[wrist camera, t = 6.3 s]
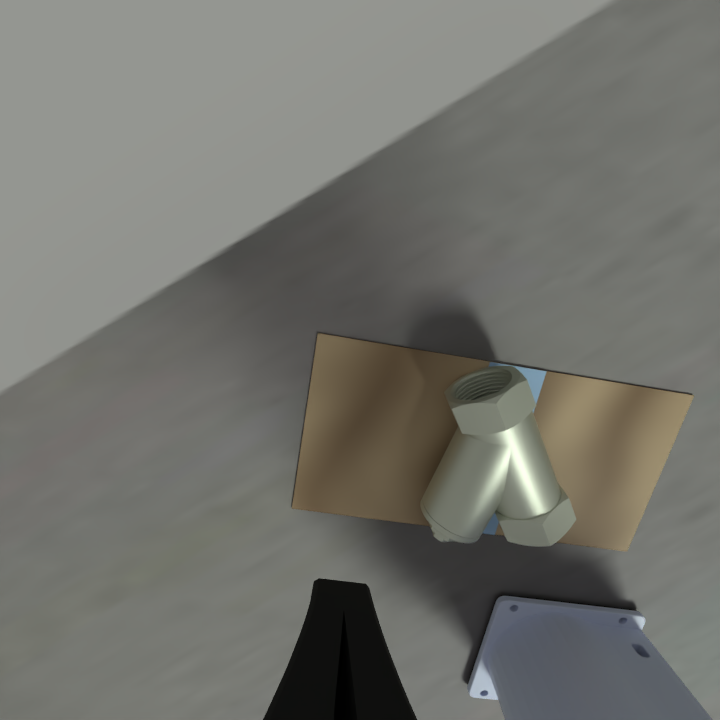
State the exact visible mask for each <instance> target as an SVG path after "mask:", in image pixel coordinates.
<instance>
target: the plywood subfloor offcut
mask: <svg viewBox="0 0 720 720" xmlns="http://www.w3.org/2000/svg"><path fill="white" fill-rule="evenodd" d="M491 366H513V367H515V368H516V369H518V370H519V371H520V372H521V373H522V374H523V375H524V377H525V378H526V379H527V380H528V383H529V386H530V389H531V392H532V395H533V397H534V400H535V403H536V407H535V408H534V409H533V414H534V417H535V420H536V422H537V425H538V428H539V431H540V434H541V437H542V439H543V442H544V445H545V448H546V451H547V453H548V456H549V459H550V462H551V464H552V467H553V470H554V473H555V476H556V478H557V481H558V483H559V485H560V486H561V487H562V489H563V490H564V491H565V493H566V494H567V496H568V497H569V500H570V502H571V505H572V508H573V511H574V514H575V517H576V521H575V522H574V524H573V525H572V527H571V528H570V529H569V530H568V532H567V533H566V534H565V535H564V536H563V537H562V538H561V539H560V540H559V541H557V542H556V543H564V544H572V545H580V546H587V547H595V548H603V549H611V550H619V551H626V552H627V551H628V548H629V546H630V544H631V541H632V539H633V537H634V534H635V532H636V530H637V527H638V525H639V523H640V520H641V518H642V516H643V513H644V511H645V509H646V506H647V504H648V502H649V500H650V497H651V495H652V493H653V490H654V488H655V486H656V483H657V481H658V479H659V476H660V474H661V472H662V469H663V467H664V465H665V462H666V460H667V458H668V455H669V453H670V451H671V448H672V446H673V444H674V441H675V439H676V437H677V434H678V432H679V430H680V427H681V425H682V423H683V420H684V418H685V416H686V413H687V411H688V409H689V407H690V404H691V402H692V400H693V397H694V395H690V394H684V393H677V392H671V391H665V390H659V389H653V388H647V387H641V386H635V385H629V384H623V383H617V382H611V381H605V380H599V379H593V378H587V377H581V376H575V375H569V374H563V373H557V372H551V371H545V370H539V369H532V368H526V367H520V366H514V365H508V364H502V363H496V362H490V361H484V360H478V359H472V358H466V357H460V356H454V355H448V354H442V353H436V352H430V351H424V350H418V349H412V348H406V347H400V346H394V345H388V344H381V343H375V342H369V341H363V340H357V339H351V338H345V337H339V336H333V335H327V334H321V333H318V335H317V342H316V349H315V355H314V362H313V369H312V376H311V382H310V389H309V396H308V403H307V409H306V416H305V423H304V430H303V436H302V443H301V450H300V456H299V463H298V470H297V477H296V483H295V490H294V497H293V504H292V509H300V510H308V511H316V512H323V513H331V514H339V515H347V516H354V517H362V518H370V519H378V520H385V521H393V522H401V523H409V524H417V525H424V526H429V522H428V521H427V519H426V518H425V516H424V515H423V513H422V510H421V506H420V502H421V499H422V497H423V495H424V493H425V491H426V489H427V487H428V485H429V483H430V481H431V479H432V477H433V475H434V473H435V471H436V469H437V467H438V465H439V463H440V461H441V459H442V457H443V455H444V453H445V451H446V449H447V447H448V445H449V443H450V441H451V439H452V438H453V436H454V434H455V432H456V430H457V428H458V424H457V422H456V420H455V417H454V415H453V413H452V411H451V408H450V406H449V403H448V401H447V399H446V396H445V394H444V392H445V391H446V389H447V388H448V387H449V386H450V385H451V384H452V383H454V382H455V381H456V380H458V379H459V378H461V377H462V376H464V375H466V374H468V373H471V372H473V371H476V370H479V369H482V368H486V367H491ZM483 534H491V535H502V536H505V535H504V533H503V530H502V528H501V526H500V524H499V522H498V519H497V517H496V515H495V513H494V514H493V516H492V518H491V519H490V521H489V523H488V524H487V526H486V528H485V530H484V531H483Z"/></svg>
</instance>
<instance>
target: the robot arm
mask: <svg viewBox="0 0 720 720" xmlns="http://www.w3.org/2000/svg"><path fill="white" fill-rule="evenodd" d="M512 605H513V606H512ZM644 624H645V618H644V616H643V615H642V614H641V613H640V612H639V611H633V610H625V609H616V608H607V607H599V606H590V605H582V604H573V603H564V602H556V601H547V600H538V599H530V598H521V597H513V596H501V597H499V598H498V599H497V600H496V603H495V606H494V609H493V612H492V615H491V618H490V621H489V623H488V626H487V629H486V632H485V635H484V638H483V641H482V644H481V647H480V650H479V653H478V656H477V659H476V662H475V665H474V668H473V671H472V674H471V677H470V680H469V683H468V687H467V688H468V692H469V694H470V696H472V697H474V698H484V699H495V700H499V703H500V706H501V709H502V712H503V715H504V718H505V720H712V718H711V717H710V716H709V715H708V713H707V712H706V711H705V710H704V708H703V707H702V706H701V705H700V703H699V702H698V701H697V700H696V698H695V697H694V696H693V695H692V693H691V692H690V691H689V690H688V688H687V687H686V686H685V685H684V683H683V682H682V681H681V680H680V678H679V677H678V676H677V675H676V673H675V672H674V671H673V669H672V668H671V667H670V666H669V664H668V663H667V662H666V661H665V659H664V658H663V657H662V656H661V654H660V653H659V652H658V651H657V649H656V648H655V647H654V646H653V644H652V643H651V642H650V641H649V639H648V638H647V637H646V636H645V634H644V633H643V632H642V631H641V630H642V628H643V626H644ZM263 720H417V718H416V716H415V714H414V712H413V709H412V707H411V705H410V703H409V700H408V698H407V695H406V693H405V691H404V688H403V686H402V683H401V681H400V678H399V676H398V673H397V671H396V668H395V666H394V663H393V660H392V658H391V655H390V653H389V650H388V647H387V644H386V642H385V639H384V636H383V633H382V630H381V627H380V624H379V621H378V618H377V614H376V611H375V608H374V604H373V601H372V597H371V593H370V589H369V587H368V586H367V585H366V584H362V583H354V582H345V581H337V580H328V579H317V580H316V581H314V584H313V589H312V595H311V601H310V605H309V608H308V612H307V615H306V618H305V621H304V624H303V627H302V630H301V633H300V635H299V638H298V641H297V643H296V646H295V648H294V651H293V653H292V656H291V659H290V661H289V664H288V666H287V668H286V671H285V673H284V675H283V678H282V680H281V682H280V684H279V686H278V689H277V691H276V693H275V695H274V697H273V700H272V702H271V704H270V706H269V708H268V711H267V713H266V715H265V717H264V719H263Z"/></svg>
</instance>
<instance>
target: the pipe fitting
mask: <svg viewBox="0 0 720 720" xmlns="http://www.w3.org/2000/svg"><path fill="white" fill-rule="evenodd" d="M444 394H445V396H446V399H447V401H448V403H449V406H450V408H451V411H452V413H453V415H454V417H455V420H456V422H457V424H458V428H457V430H456V432H455V434H454V436H453V438H452V439H451V441H450V443H449V445H448V447H447V449H446V451H445V453H444V455H443V457H442V459H441V461H440V463H439V465H438V467H437V469H436V471H435V473H434V475H433V477H432V479H431V481H430V483H429V485H428V487H427V489H426V491H425V493H424V495H423V497H422V499H421V502H420V506H421V510H422V513H423V515H424V516H425V518H426V519H427V521H428V522H429V526H430V528H431V530H432V533H433V536H434V537H435V538H436V539H437V540H439V541H441V542H447V541H448V542H454V541H457V542H461V543H474V542H476V541H477V540H478V539H479V538H480V536H481V535H482V533H483V531H484V530H485V528H486V526H487V524H488V523H489V521H490V519H491V518H492V516H493V514H494V513H495V515H496V517H497V519H498V522H499V524H500V526H501V528H502V530H503V533H504V535H505V537H506V539H507V541H508V542H512V543H516V544H520V545H526V546H537V547H544V546H552V545H553V544H555V543H556V542H557V541H559V540H560V539H561V538H562V537H563V536H564V535H565V534H566V533H567V532H568V530H569V529H570V528H571V527H572V525H573V524H574V522H575V521H576V517H575V514H574V511H573V508H572V505H571V502H570V500H569V497H568V496H567V494H566V493H565V491H564V490H563V489H562V487H561V486H560V485H559V483H558V481H557V478H556V476H555V473H554V470H553V467H552V464H551V462H550V459H549V456H548V453H547V451H546V448H545V445H544V442H543V439H542V437H541V434H540V431H539V428H538V425H537V422H536V420H535V417H534V414H533V409H534V408H535V407H536V403H535V400H534V397H533V395H532V392H531V389H530V386H529V383H528V380H527V379H526V378H525V377H524V375H523V374H522V373H521V372H520V371H519V370H518V369H516V368H515V367H513V366H491V367H486V368H482V369H479V370H476V371H473V372H471V373H468V374H466V375H464V376H462V377H461V378H459V379H458V380H456V381H455V382H454V383H452V384H451V385H450V386H449V387H448V388H447V389H446V391H445V392H444Z"/></svg>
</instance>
